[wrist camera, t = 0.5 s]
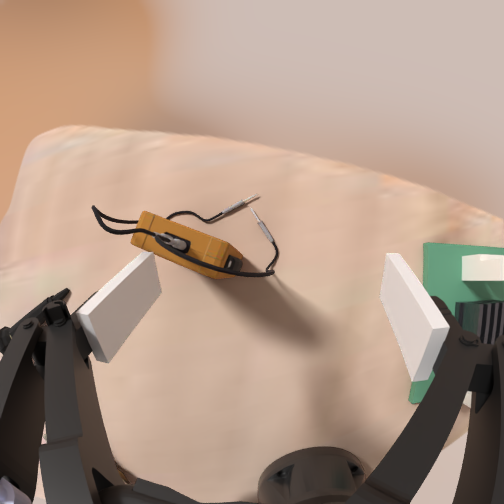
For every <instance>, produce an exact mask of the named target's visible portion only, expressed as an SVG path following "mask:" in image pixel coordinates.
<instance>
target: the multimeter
mask: <svg viewBox="0 0 504 504" xmlns="http://www.w3.org/2000/svg"><path fill="white" fill-rule="evenodd" d="M256 195H257V194H255V195H253V196H251V197H249V198H247V199H246V200H244V201H243V200H241V201H239V202H237V203H236V204H234V205H232V206H230V207H228V208H226V209H225V210H223V211H222V212H221V213H219V214H218V215H216V216H214V217H212V218H210V219H203V218H201V217H200V216H199V215H197V214H196V213H194V212H191V211H179V212H175V213H173V214H171V215H170V216H168V217H167V218H166V219H165V218H162V217H160V216H157V215H155V214H152V213H149V212H147V211H143V212H142V213H141V216H140V218H139V221H127V220H119V219H114V218H111V217H109V216H106V215H105V214H103V213H101V212H100V211H99V210H98V209H97V208H96V207H95V206H92V210H93V212H94V214H95V217H96V219H97V221H98V223H99V224H100V226H101V227H102V228H103V229H104V230H105V231H107V232H109V233H112V234H117V235H123V234H131V233H134V234H133V236H132V239H131V244H132V245H134V246H137V247H139V248H141V249H144V250H146V251H148V252H153V253H154V254H155V255H157V256H160V257H162V258H164V259H167V260H169V261H172V262H174V263H176V264H179V265H181V266H183V267H186V268H188V269H191V270H193V271H196V272H198V273H200V274H203V275H205V276H208V277H210V278H213V279H222V278H231V277H235V276H236V275H237V276H244V277H265V276H270V275H273V274H274V273H275V271H274V270H268V269H269V267H270V266H271V265H272V264H273V263H274V261H275V260H276V258H277V255H278V249H277V247H276V245H275V243H274V240H273V238H272V236H271V235H270V233H269V232H268V230H267V229H266V227H265V225H264V224H263V222H262V221H260V220H259V218H258V217H257V215H256V214H255V212H254V211H253V209H251V211H252V212H253V214H254V215H255V217H256V219H257V220H258V224H259V225H260V227H261V229H262V230H263V232H264V233H265V235H266V236H267V238H268V239H269V241H270V242H271V243H272V244H273V245H274V247H275V250H276V255H275V257H274V259H273V261H272V262H271V263H270V264H269V265H268V267H267V268H266V272H265V273H248V272H240V270H241V267H242V264H243V263H242V257H243V255H242V254H241V253H240V252H239V251H238V250H236V249H235V248H234V247H233V246H232V245H231V244H229V243H228V242H225V241H223V240H220V239H218V238H215V237H212V236H210V235H207V234H204V233H202V232H199V231H197V230H194V229H191V228H189V227H186V226H183V225H181V224H178V223H176V222H173V221H170V220H168V219H169V218H170V217H172V216H174V215H176V214H180V213H191V214H193V215H195V216H197V217H198V218H199V219H201V220H203V221H211V220H213V219H215V218H217V217H219V216H220V215H222V214H225V213H227V212H229V211H231V210H233V209H235V208H237V207H238V206H240V205H242V204H244V202H245V201H247V200H249V199H251V198H253V197H255V196H256ZM100 216H101V217H102V218H104V219H106V220H109V221H112V222H116V223H124V224H137V226H136V229H130V230H115V229H111V228H109V227H107V226H106V225H105V224H104V223H103V221H102V219H101V217H100Z"/></svg>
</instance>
